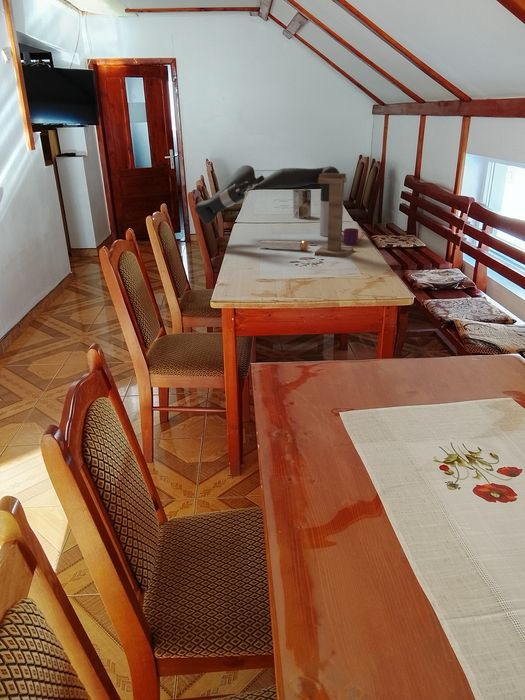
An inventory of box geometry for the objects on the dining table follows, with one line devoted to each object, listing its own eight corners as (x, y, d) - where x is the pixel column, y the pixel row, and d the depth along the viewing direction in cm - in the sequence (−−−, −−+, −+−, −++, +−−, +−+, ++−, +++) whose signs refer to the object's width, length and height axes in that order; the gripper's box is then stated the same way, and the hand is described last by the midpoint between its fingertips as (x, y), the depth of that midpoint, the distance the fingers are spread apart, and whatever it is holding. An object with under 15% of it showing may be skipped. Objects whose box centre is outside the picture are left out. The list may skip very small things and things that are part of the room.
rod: (263, 248, 253) (262, 238, 252) (308, 249, 245) (308, 240, 243) (259, 250, 250) (259, 240, 248) (305, 251, 241) (305, 242, 240)
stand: (323, 248, 247) (325, 172, 234) (353, 250, 242) (357, 172, 229) (314, 255, 235) (316, 175, 222) (345, 257, 230) (349, 176, 217)
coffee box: (304, 215, 332) (305, 188, 325) (311, 217, 327) (311, 189, 320) (292, 217, 327) (292, 189, 321) (298, 218, 322) (299, 190, 316)
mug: (357, 245, 252) (358, 231, 249) (336, 245, 253) (336, 230, 251) (357, 242, 258) (358, 228, 255) (336, 242, 259) (337, 228, 257)
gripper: (221, 190, 240) (249, 171, 232) (234, 186, 252) (261, 169, 244) (229, 205, 241) (258, 187, 233) (242, 201, 253) (269, 184, 245)
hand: (260, 178), depth 239 cm, fingers open, 8 cm apart
